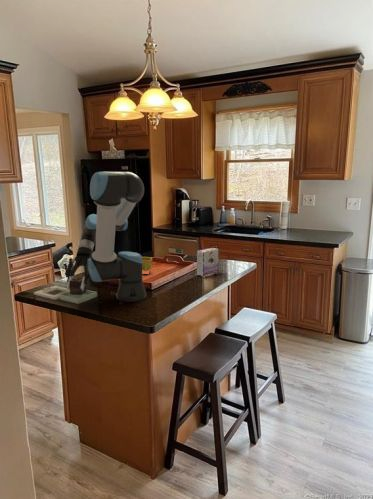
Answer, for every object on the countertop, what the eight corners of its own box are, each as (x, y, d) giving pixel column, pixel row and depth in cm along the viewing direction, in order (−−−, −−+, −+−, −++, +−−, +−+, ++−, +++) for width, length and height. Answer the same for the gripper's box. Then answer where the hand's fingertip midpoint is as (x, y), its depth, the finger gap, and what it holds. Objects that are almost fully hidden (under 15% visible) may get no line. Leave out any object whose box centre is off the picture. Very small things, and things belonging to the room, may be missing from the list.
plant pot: (148, 276, 230) (148, 261, 228) (133, 275, 234) (132, 259, 232) (155, 272, 240) (154, 257, 238) (140, 271, 243) (140, 256, 241)
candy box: (211, 272, 240) (212, 247, 236) (218, 274, 235) (219, 248, 232) (196, 276, 231) (196, 250, 227) (203, 278, 226) (203, 251, 223)
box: (81, 295, 186) (80, 281, 185) (69, 294, 188) (69, 280, 186) (86, 291, 192) (85, 278, 191) (75, 291, 194) (74, 277, 192)
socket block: (76, 292, 199) (76, 289, 199) (54, 299, 188) (54, 296, 187) (55, 287, 207) (55, 284, 207) (33, 294, 196) (33, 291, 195)
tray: (97, 296, 193) (96, 292, 192) (78, 304, 182) (77, 299, 181) (78, 292, 199) (78, 288, 199) (59, 299, 188) (59, 294, 188)
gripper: (104, 254, 201) (96, 293, 188) (70, 253, 202) (58, 291, 190) (101, 246, 194) (91, 286, 182) (65, 245, 196) (53, 284, 184)
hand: (75, 289), depth 186 cm, fingers closed on box, 6 cm apart
